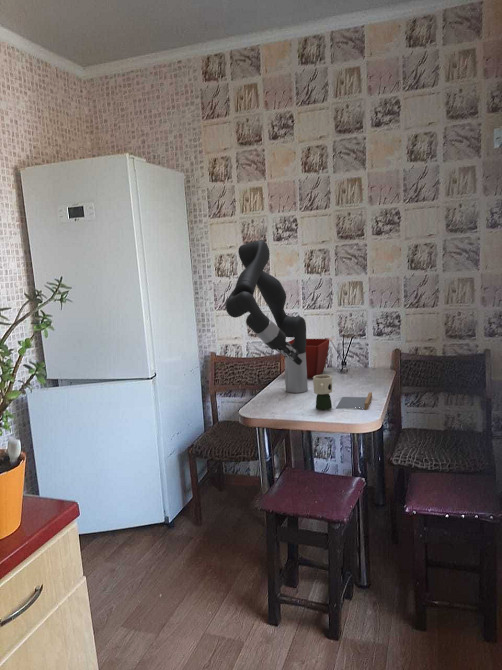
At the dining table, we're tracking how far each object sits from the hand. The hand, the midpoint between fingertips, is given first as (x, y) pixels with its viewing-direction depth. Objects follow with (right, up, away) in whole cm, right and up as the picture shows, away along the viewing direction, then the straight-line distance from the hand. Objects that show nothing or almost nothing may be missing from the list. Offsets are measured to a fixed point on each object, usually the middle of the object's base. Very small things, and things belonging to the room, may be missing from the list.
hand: (300, 363), depth 201 cm
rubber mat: (+22, -17, +13) cm, 31 cm away
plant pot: (+10, -10, +67) cm, 69 cm away
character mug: (+10, -19, +8) cm, 22 cm away
